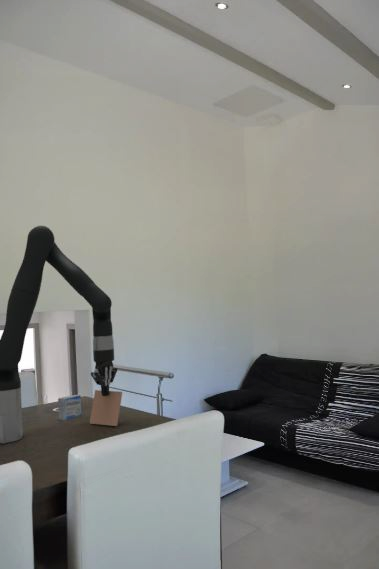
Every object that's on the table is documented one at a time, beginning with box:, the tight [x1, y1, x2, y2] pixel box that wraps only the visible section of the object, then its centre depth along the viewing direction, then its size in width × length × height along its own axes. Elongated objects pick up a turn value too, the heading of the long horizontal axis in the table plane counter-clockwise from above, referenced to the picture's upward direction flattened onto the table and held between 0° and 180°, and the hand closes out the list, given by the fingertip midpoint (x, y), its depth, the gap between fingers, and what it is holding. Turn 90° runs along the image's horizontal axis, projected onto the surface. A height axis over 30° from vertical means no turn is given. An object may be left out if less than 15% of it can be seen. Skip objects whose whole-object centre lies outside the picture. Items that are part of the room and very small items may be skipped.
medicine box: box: [57, 394, 82, 421], centre depth 187 cm, size 8×4×9 cm, turn 143°
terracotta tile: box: [89, 389, 123, 427], centre depth 173 cm, size 1×12×12 cm, turn 61°
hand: (105, 395), depth 173 cm, fingers closed
